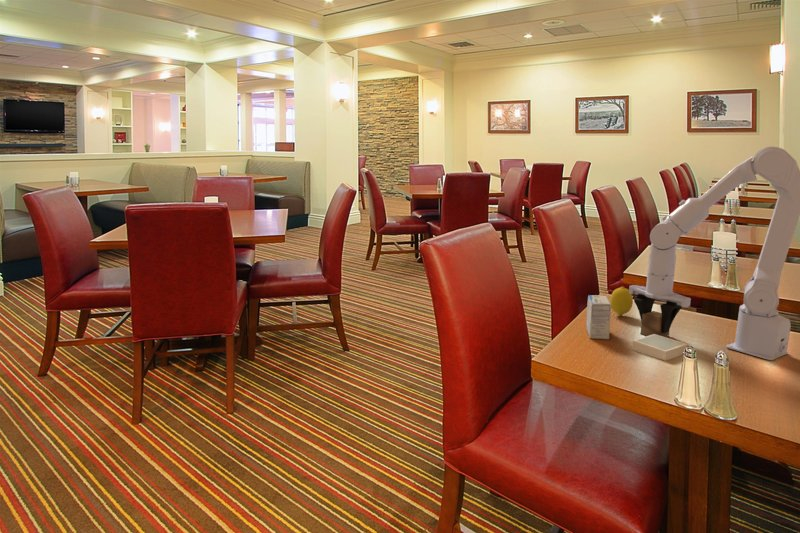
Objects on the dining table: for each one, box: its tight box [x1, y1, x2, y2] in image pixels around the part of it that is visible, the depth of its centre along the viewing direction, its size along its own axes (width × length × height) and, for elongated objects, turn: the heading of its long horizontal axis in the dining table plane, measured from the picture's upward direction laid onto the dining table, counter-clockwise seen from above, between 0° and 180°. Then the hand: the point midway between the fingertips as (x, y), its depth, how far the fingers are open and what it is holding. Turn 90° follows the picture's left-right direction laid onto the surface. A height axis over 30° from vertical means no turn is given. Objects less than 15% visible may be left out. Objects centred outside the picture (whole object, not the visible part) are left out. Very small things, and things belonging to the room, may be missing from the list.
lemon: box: [609, 286, 634, 317], centre depth 150 cm, size 6×6×8 cm
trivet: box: [631, 334, 688, 361], centre depth 126 cm, size 8×8×3 cm
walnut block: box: [640, 310, 671, 338], centre depth 136 cm, size 4×4×5 cm
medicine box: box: [585, 294, 612, 340], centre depth 136 cm, size 8×4×9 cm, turn 168°
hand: (655, 329), depth 136 cm, fingers closed on walnut block, 4 cm apart
